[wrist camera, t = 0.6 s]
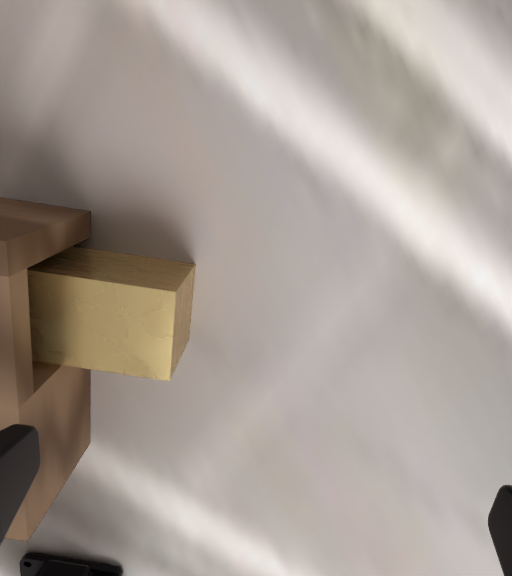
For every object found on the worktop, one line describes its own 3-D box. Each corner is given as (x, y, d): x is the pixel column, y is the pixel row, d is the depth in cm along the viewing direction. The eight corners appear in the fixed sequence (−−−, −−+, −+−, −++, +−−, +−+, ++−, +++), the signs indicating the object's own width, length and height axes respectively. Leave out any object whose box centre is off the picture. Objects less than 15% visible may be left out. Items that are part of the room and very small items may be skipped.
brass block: (196, 263, 19) (175, 292, 15) (189, 337, 20) (169, 380, 17) (-52, 226, 19) (-133, 246, 15) (-42, 303, 21) (-114, 338, 17)
